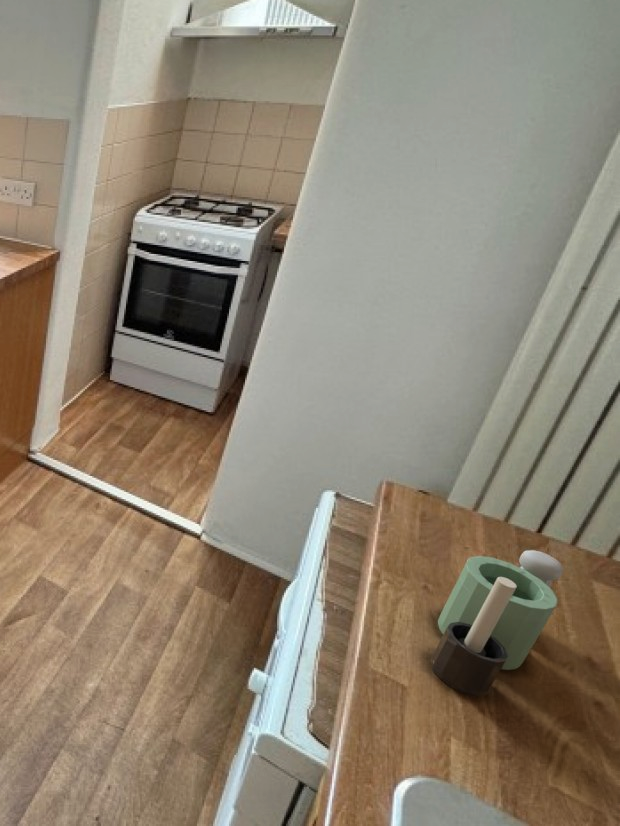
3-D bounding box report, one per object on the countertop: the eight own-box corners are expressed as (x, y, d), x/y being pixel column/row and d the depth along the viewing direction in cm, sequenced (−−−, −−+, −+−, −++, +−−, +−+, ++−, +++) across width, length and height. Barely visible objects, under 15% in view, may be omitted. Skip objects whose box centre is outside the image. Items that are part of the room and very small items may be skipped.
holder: (480, 669, 86) (499, 634, 83) (493, 706, 81) (514, 670, 78) (426, 648, 89) (443, 614, 86) (435, 683, 84) (453, 647, 81)
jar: (510, 632, 91) (543, 573, 87) (531, 681, 84) (568, 620, 79) (431, 604, 96) (459, 547, 91) (445, 649, 88) (476, 589, 84)
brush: (469, 669, 85) (518, 579, 79) (474, 685, 83) (525, 594, 76) (443, 659, 86) (489, 570, 80) (448, 675, 84) (495, 584, 78)
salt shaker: (482, 621, 93) (516, 557, 88) (483, 599, 97) (516, 537, 92) (536, 645, 89) (574, 580, 84) (535, 622, 93) (572, 558, 88)
